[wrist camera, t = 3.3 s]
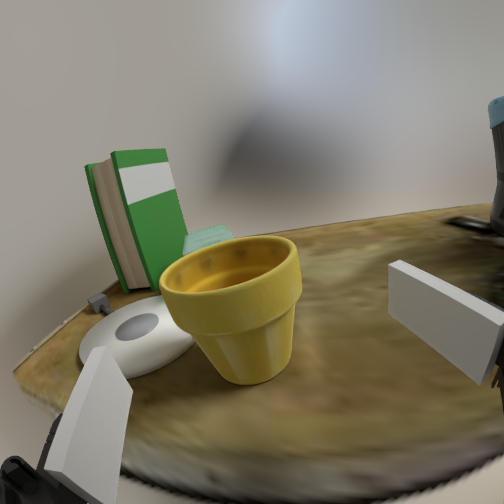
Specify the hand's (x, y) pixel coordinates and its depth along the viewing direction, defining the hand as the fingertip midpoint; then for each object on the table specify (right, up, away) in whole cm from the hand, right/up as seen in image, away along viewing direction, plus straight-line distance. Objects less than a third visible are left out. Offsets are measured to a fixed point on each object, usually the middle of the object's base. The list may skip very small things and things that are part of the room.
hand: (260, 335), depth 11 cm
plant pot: (0, -6, +12) cm, 13 cm away
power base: (-18, -7, +23) cm, 30 cm away
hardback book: (-18, -1, +42) cm, 46 cm away
